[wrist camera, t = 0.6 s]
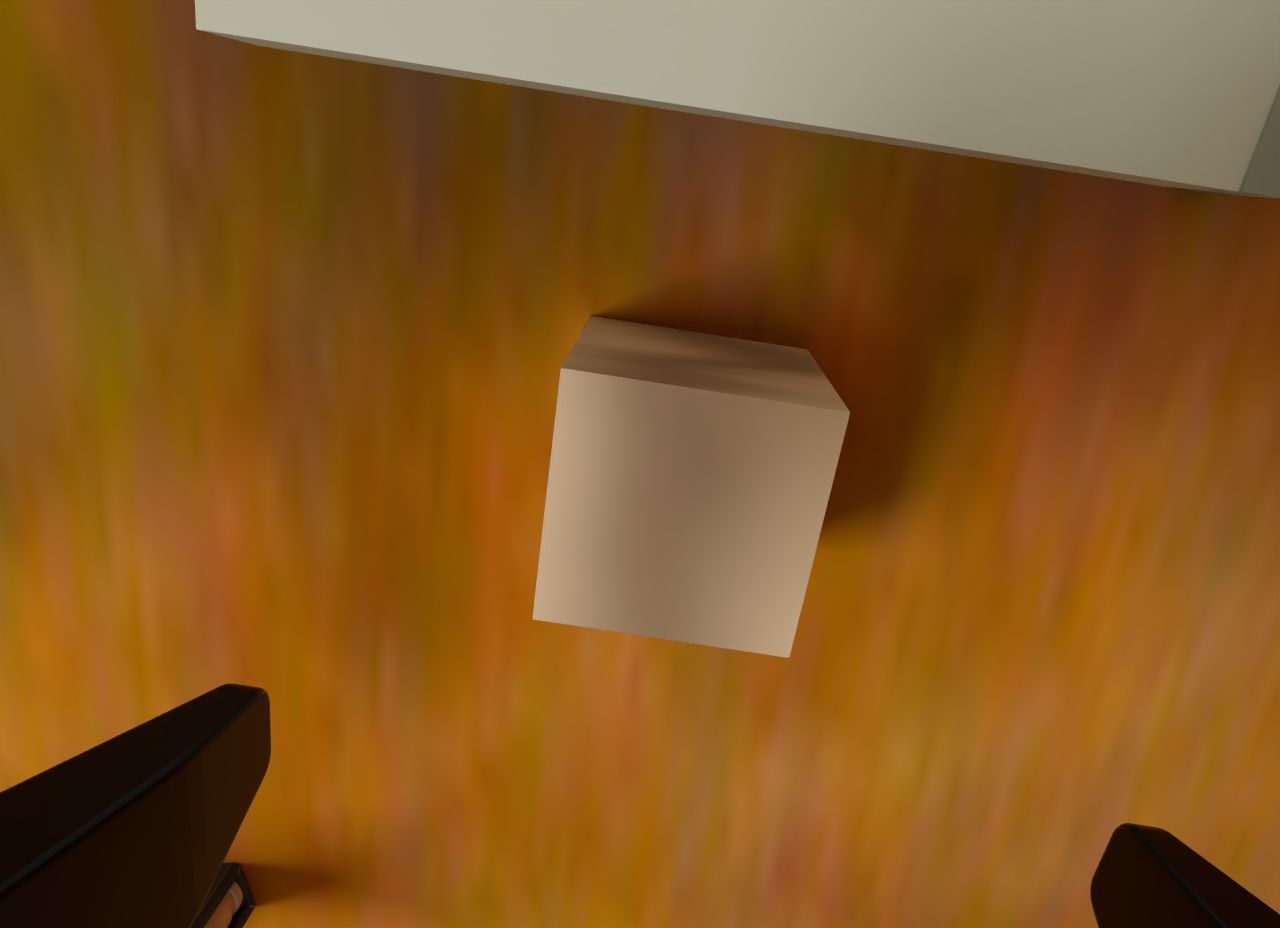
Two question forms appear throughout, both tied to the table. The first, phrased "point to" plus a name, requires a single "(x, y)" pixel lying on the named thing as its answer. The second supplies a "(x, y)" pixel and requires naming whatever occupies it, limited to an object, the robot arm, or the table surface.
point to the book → (865, 69)
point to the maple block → (686, 486)
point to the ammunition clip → (226, 900)
